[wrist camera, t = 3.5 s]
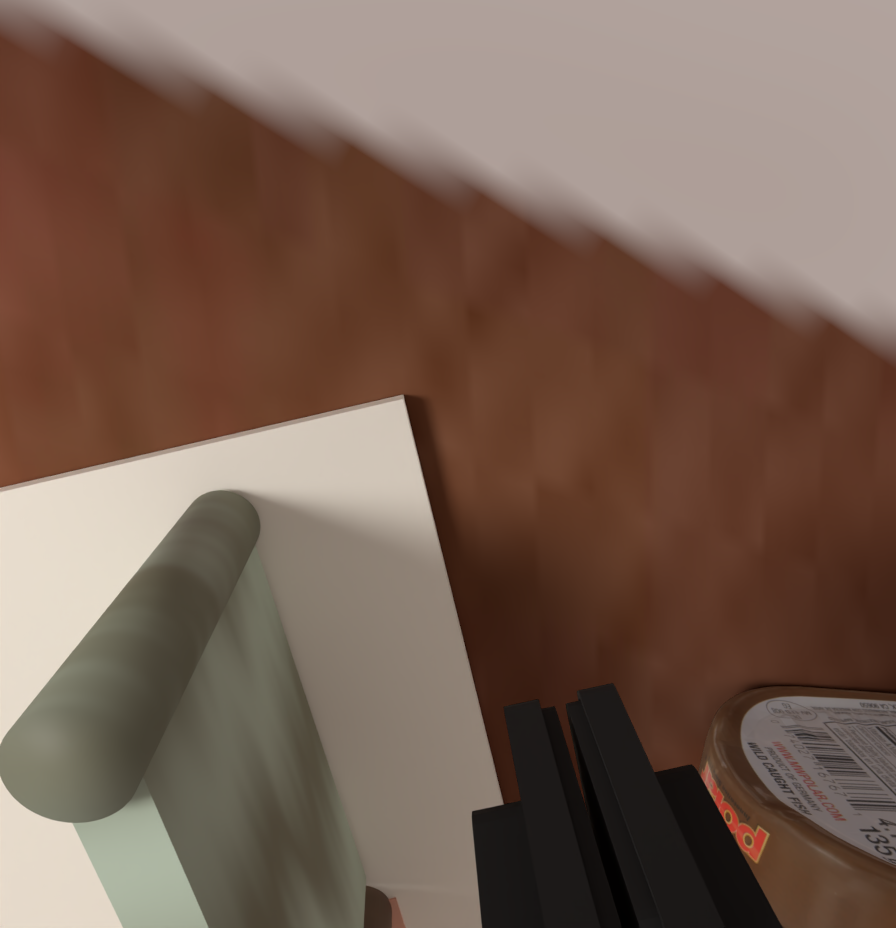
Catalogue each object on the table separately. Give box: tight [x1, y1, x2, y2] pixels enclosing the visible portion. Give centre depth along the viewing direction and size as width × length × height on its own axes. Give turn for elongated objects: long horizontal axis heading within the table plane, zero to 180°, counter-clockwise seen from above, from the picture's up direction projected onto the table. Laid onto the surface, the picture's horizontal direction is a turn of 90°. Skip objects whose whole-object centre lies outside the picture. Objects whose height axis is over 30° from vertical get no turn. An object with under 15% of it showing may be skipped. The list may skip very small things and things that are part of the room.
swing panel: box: [0, 490, 366, 928], centre depth 15 cm, size 12×2×8 cm, turn 13°
